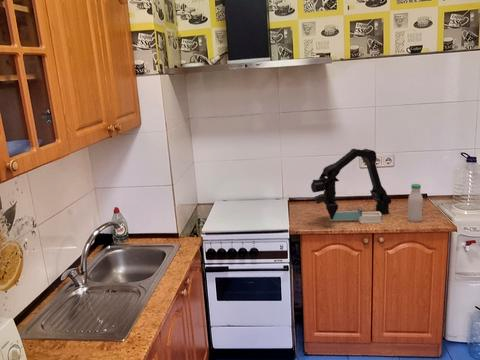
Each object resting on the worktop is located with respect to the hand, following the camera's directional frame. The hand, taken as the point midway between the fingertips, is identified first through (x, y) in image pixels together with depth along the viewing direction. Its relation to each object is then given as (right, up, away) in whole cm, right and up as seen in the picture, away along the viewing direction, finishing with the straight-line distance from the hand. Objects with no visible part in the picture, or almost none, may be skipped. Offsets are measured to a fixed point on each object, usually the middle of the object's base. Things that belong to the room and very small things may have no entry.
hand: (330, 216), depth 237 cm
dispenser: (+22, -2, -1) cm, 22 cm away
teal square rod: (+8, -2, 0) cm, 8 cm away
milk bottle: (+45, -2, -4) cm, 46 cm away
